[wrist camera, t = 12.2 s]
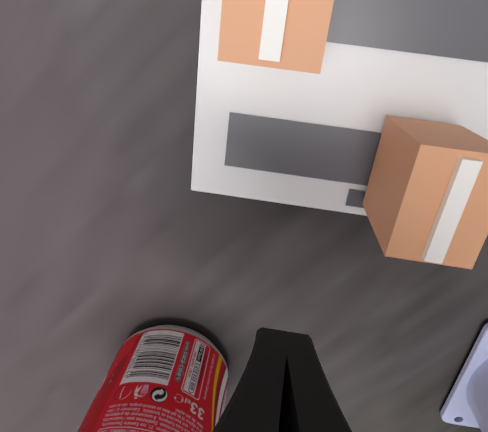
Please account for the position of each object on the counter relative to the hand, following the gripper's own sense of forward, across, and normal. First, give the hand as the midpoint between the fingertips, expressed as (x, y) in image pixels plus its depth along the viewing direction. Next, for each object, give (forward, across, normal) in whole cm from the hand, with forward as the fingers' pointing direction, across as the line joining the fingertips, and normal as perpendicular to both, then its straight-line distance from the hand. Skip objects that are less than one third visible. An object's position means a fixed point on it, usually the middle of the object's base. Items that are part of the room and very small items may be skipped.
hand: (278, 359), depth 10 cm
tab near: (+9, +1, -9) cm, 13 cm away
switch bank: (+10, -2, -6) cm, 12 cm away
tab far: (+9, -5, -3) cm, 11 cm away
